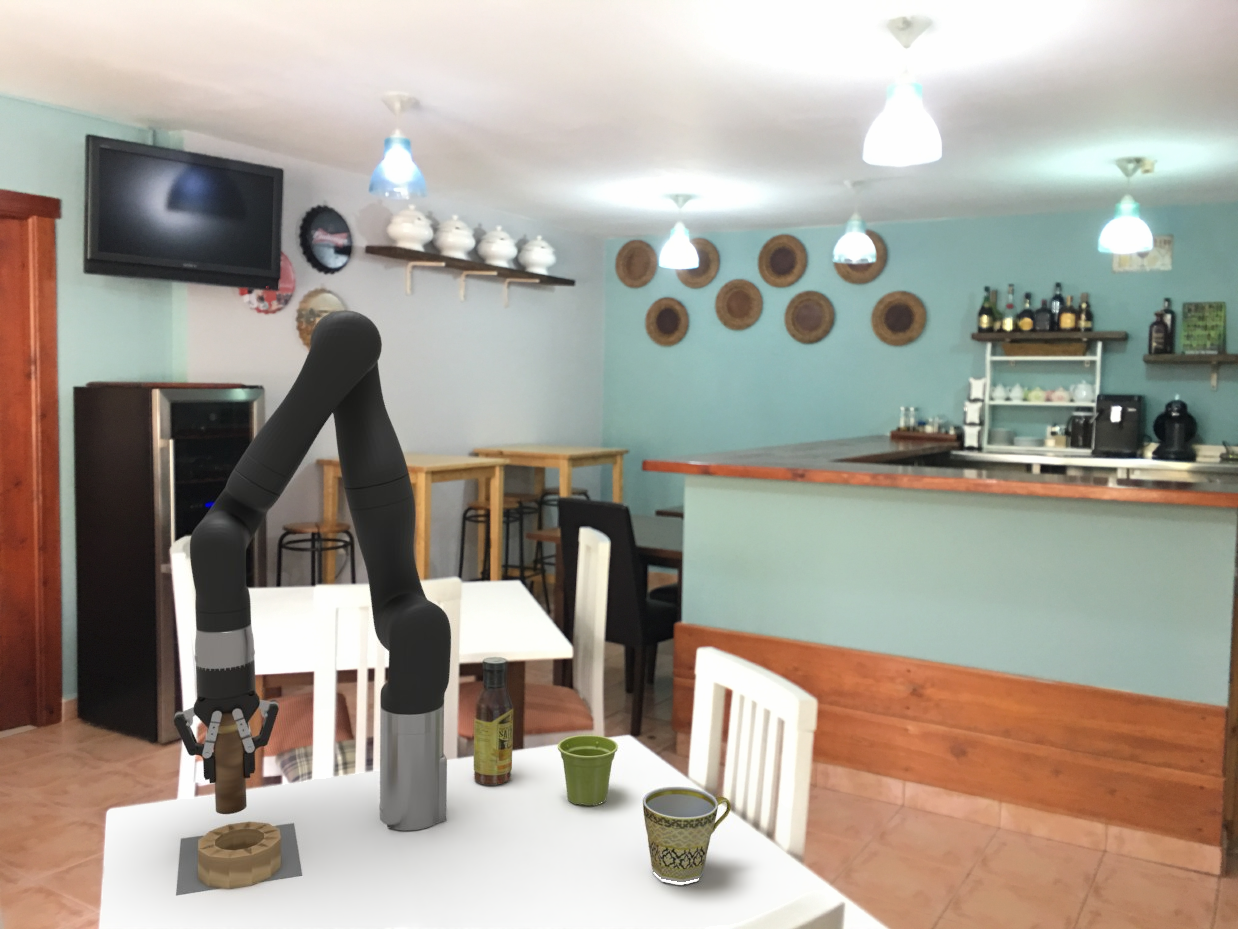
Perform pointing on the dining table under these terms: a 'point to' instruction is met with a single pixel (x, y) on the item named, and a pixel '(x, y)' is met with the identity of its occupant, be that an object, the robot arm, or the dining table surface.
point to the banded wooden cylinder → (229, 767)
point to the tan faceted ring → (239, 854)
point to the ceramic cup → (680, 830)
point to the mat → (191, 884)
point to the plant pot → (587, 767)
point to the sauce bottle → (493, 725)
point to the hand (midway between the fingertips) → (229, 778)
